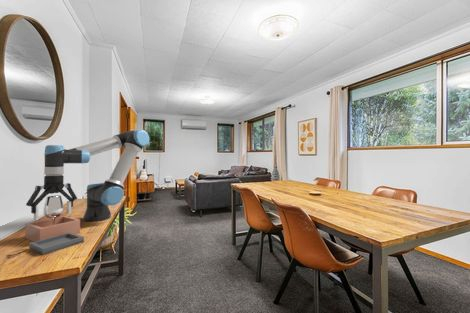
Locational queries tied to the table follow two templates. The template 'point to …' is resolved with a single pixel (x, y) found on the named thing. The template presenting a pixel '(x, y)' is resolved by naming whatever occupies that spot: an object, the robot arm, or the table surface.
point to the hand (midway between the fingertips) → (53, 216)
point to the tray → (56, 243)
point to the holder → (51, 228)
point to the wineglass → (53, 207)
